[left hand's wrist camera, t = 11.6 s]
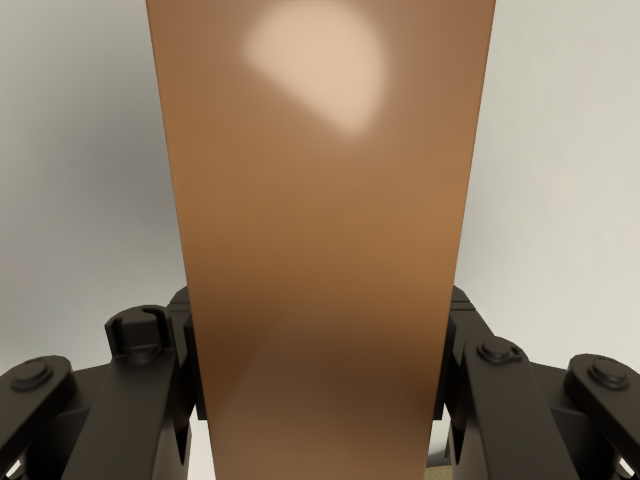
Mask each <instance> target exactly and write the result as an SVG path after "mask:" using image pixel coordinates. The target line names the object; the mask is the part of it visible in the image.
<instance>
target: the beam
mask: <svg viewBox="0 0 640 480" xmlns="http://www.w3.org/2000/svg"><path fill="white" fill-rule="evenodd" d="M495 4H496V0H146V7H147V14H148V20H149V27H150V34H151V41H152V48H153V54H154V61H155V68H156V75H157V82H158V88H159V95H160V102H161V109H162V116H163V123H164V129H165V136H166V143H167V150H168V157H169V163H170V170H171V177H172V184H173V191H174V197H175V204H176V211H177V218H178V225H179V231H180V238H181V245H182V252H183V259H184V266H185V272H186V279H187V286H188V293H189V300H190V306H191V313H192V320H193V327H194V334H195V340H196V347H197V354H198V361H199V368H200V375H201V381H202V388H203V395H204V402H205V409H206V415H207V422H208V429H209V436H210V443H211V449H212V456H213V463H214V470H215V477H216V480H424V476H425V470H426V463H427V457H428V450H429V443H430V437H431V430H432V423H433V417H434V410H435V403H436V397H437V390H438V383H439V377H440V370H441V363H442V357H443V350H444V343H445V337H446V330H447V323H448V317H449V310H450V303H451V297H452V290H453V283H454V277H455V270H456V263H457V257H458V250H459V243H460V237H461V230H462V223H463V217H464V210H465V203H466V197H467V190H468V184H469V177H470V170H471V164H472V157H473V150H474V144H475V137H476V130H477V124H478V117H479V110H480V104H481V97H482V90H483V84H484V77H485V70H486V64H487V57H488V50H489V44H490V37H491V30H492V24H493V17H494V10H495Z"/></svg>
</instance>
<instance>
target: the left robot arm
mask: <svg viewBox="0 0 640 480" xmlns="http://www.w3.org/2000/svg"><path fill="white" fill-rule="evenodd" d="M104 326H105V330H106V334H107V338H108V342H109V346H110V349H111V353H112V360H111V362H110V363H109V364H105V365H101V366H97V367H92V368H87V369H82V370H78V371H73V370H72V366H71V363H70V361H69V360H68V359H66V358H65V357H62V356H56V355H52V356H43V357H38V358H35V359H31V360H28V361H25V362H24V363H22V364H20V365H17V366H15V367H13V368H12V369H10V370H9V371H7V372H6V373H5V374H3V375H2V376H0V480H187V476H188V466H189V457H190V447H191V437H192V433H191V427H190V421H189V419H190V416H191V413H192V411H193V408H194V406H195V404H196V410H197V416H198V420H207V415H206V409H205V402H204V395H203V388H202V381H201V375H200V368H199V361H198V354H197V347H196V340H195V334H194V327H193V320H192V313H191V306H190V300H189V293H188V286H186V287H184V288H183V289H181V290H180V291H178V292H177V293H176V294H175V296H174V297H173V298H172V300H171V301H170V304H168V306H167V307H163V306H158V305H142V306H137V307H132V308H130V309H127V310H124V311H122V312H120V313H118V314H116V315H115V316H113V317H112V318H110V319H109V321H108V322H107V323H106V324H105V325H104ZM444 402H445V405H446V407H447V410H448V412H449V415H450V417H451V421H450V427H449V433H448V438H447V444H446V450H445V456H444V458H447V459H449V457H450V456H451V465H452V475H453V480H640V374H638V373H637V372H635V371H634V370H633V369H631V368H630V367H628V366H626V365H624V364H622V363H620V362H618V361H616V360H614V359H612V358H609V357H605V356H601V355H594V354H580V355H575V356H574V357H573V358H572V359H570V362H569V365H568V368H567V370H565V369H560V368H556V367H551V366H546V365H541V364H537V363H533V362H530V361H529V359H528V357H527V355H526V354H525V353H524V351H523V350H522V349H521V348H520V347H518V346H517V345H515V344H514V343H513V342H510V341H508V340H506V339H504V338H501V337H497V336H494V334H493V333H492V331H491V330H490V329H489V327H488V326H487V324H486V323H485V321H484V320H483V319H482V317H481V316H480V314H479V313H478V312H477V311H476V309H475V307H474V306H473V304H472V303H470V300H469V299H468V297H467V296H466V295H465V293H464V292H463V291H462V290H461V289H459V288H458V287H456V286H455V285H453V290H452V297H451V303H450V310H449V317H448V323H447V330H446V337H445V343H444V350H443V357H442V363H441V370H440V377H439V383H438V390H437V397H436V403H435V410H434V417H433V420H442V415H443V409H444ZM621 458H623V459H624V460H625V462H626V463H627V464H628V465H629V466H630V468H631V469H632V470H633V471H634V472H635V473H634V475H633V476H631V475H630V474H629V473H628V472H627V471H626V470H625V469H624V468H623V467H622V465H621V464H620V460H621ZM18 459H19V461H20V464H21V465H20V466H19V467H18V469H17V470H16V471H15V472H14V473H13V474H12V475H11V476H10V477H9V478H8V477H7V476H6V474H7V472H8V471H9V470H10V469H11V468H12V466H13V465H14V464H15V463H16V462H17V460H18Z"/></svg>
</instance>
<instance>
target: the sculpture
mask: <svg viewBox="0 0 640 480" xmlns="http://www.w3.org/2000/svg"><path fill="white" fill-rule="evenodd" d="M424 480H453V475H452V465H449V466H437V467H429V468H426V470H425V476H424Z"/></svg>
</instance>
